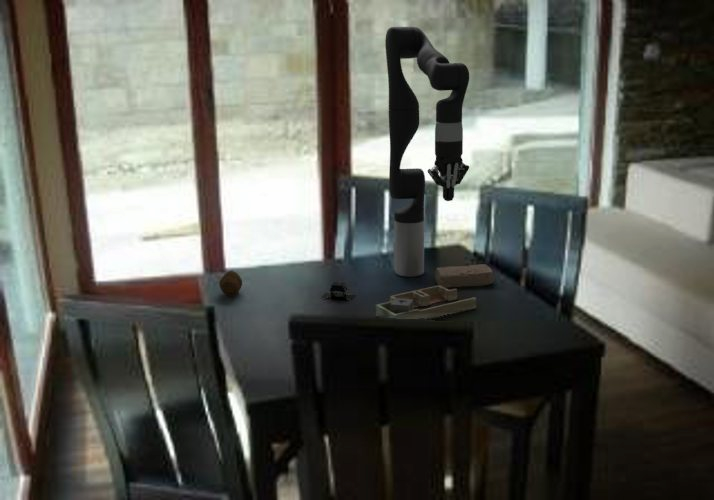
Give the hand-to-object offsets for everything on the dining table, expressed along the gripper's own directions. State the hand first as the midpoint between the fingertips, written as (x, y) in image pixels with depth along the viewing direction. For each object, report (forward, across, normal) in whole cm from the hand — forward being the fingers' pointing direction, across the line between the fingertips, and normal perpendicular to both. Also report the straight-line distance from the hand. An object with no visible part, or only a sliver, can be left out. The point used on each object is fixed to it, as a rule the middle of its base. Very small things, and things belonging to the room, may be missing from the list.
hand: (448, 200), depth 229 cm
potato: (+29, +51, -38) cm, 70 cm away
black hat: (+30, +26, -18) cm, 43 cm away
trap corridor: (+29, +11, +4) cm, 31 cm away
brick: (+30, -13, -9) cm, 33 cm away
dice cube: (+29, +20, +6) cm, 36 cm away
